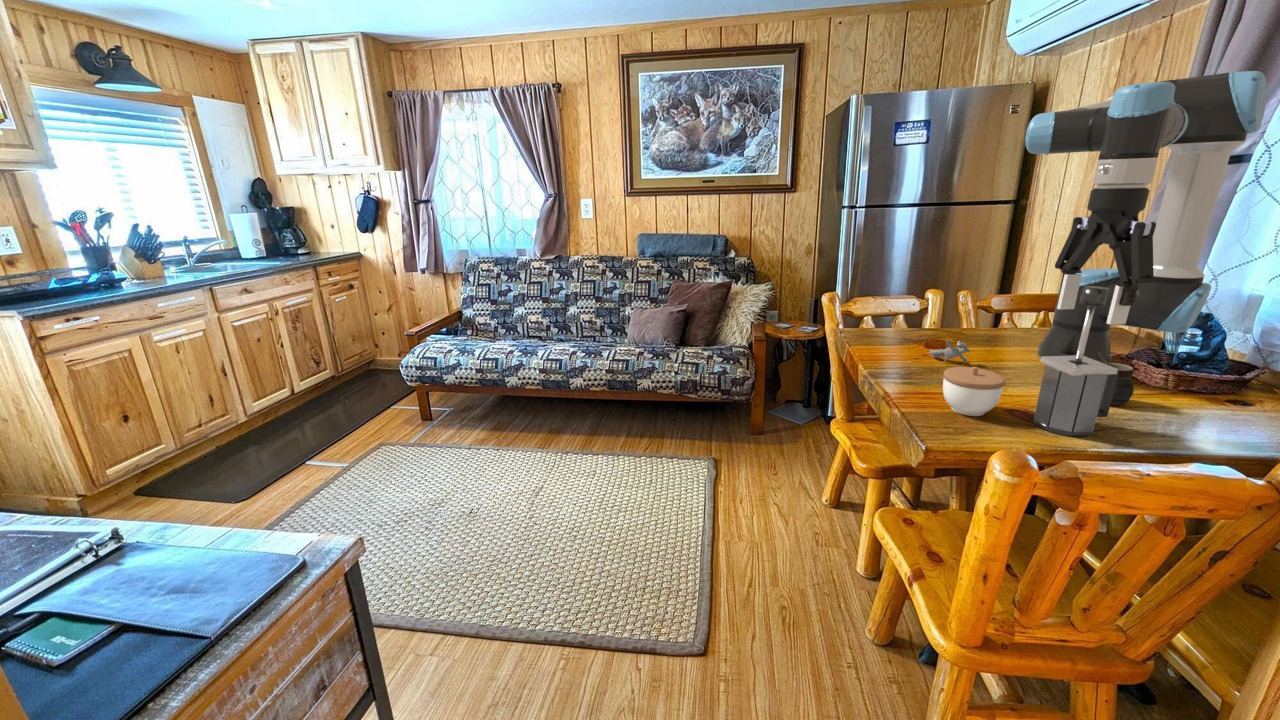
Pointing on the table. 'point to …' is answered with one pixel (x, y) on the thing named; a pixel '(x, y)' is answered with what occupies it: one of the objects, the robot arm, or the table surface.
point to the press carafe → (1074, 395)
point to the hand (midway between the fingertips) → (1089, 315)
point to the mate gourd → (1121, 383)
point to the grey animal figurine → (951, 351)
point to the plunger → (1089, 314)
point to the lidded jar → (972, 390)
